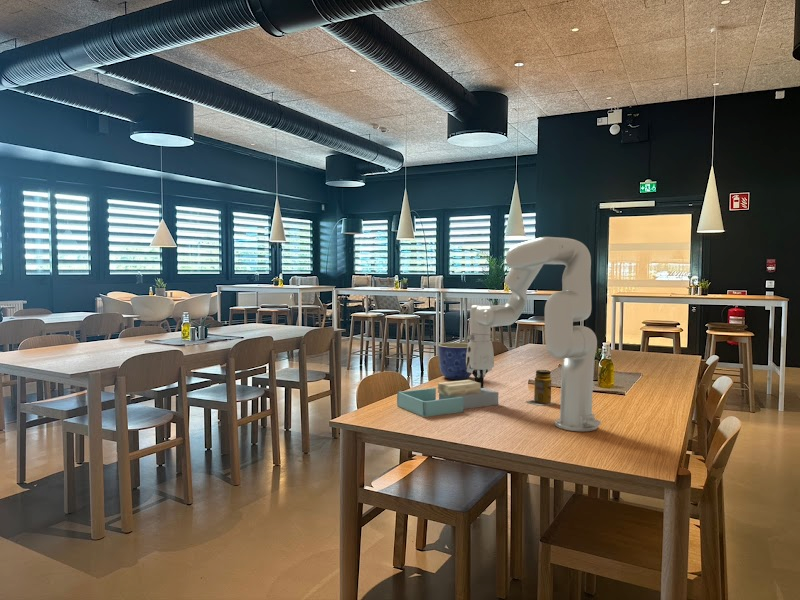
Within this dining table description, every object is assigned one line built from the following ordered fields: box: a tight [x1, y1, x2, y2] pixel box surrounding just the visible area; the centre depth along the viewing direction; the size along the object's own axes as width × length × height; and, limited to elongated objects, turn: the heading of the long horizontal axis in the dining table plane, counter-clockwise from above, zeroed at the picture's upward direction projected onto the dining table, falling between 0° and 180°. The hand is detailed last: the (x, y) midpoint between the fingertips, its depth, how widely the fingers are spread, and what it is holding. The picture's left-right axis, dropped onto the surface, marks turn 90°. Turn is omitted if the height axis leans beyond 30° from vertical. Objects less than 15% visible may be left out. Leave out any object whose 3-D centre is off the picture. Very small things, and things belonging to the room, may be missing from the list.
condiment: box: [525, 369, 555, 406], centre depth 210 cm, size 7×8×12 cm
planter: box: [437, 342, 473, 381], centre depth 258 cm, size 17×17×15 cm
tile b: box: [437, 380, 465, 396], centre depth 203 cm, size 7×7×4 cm
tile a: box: [454, 379, 481, 394], centre depth 206 cm, size 7×7×4 cm
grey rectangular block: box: [438, 387, 499, 410], centre depth 207 cm, size 12×18×4 cm, turn 120°
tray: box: [396, 387, 464, 418], centre depth 198 cm, size 18×16×5 cm
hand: (478, 387), depth 209 cm, fingers closed
